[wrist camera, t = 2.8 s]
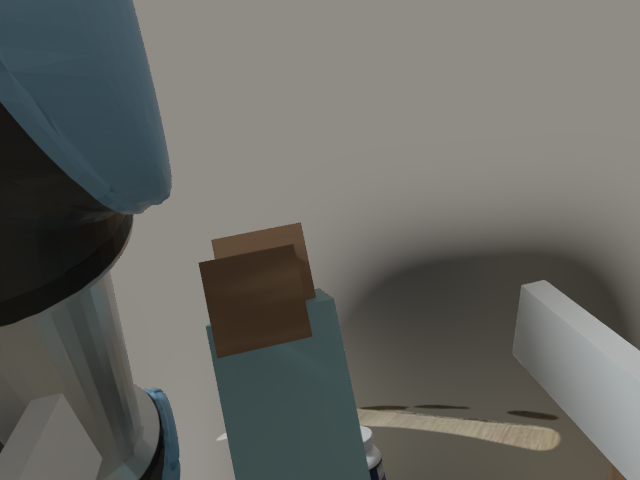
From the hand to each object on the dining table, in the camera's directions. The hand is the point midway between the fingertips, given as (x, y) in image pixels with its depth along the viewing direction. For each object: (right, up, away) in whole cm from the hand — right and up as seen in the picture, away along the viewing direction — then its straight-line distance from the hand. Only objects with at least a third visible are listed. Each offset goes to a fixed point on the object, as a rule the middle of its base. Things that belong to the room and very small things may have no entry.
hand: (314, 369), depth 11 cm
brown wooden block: (-3, -1, +15) cm, 16 cm away
